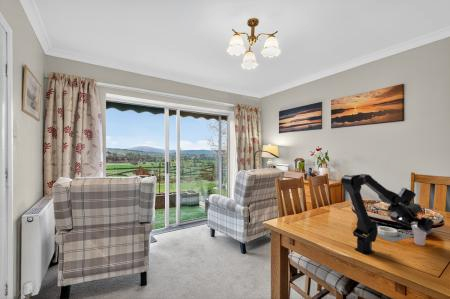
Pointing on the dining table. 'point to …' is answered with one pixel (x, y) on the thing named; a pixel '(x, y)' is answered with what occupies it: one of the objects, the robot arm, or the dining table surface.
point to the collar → (387, 231)
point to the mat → (393, 239)
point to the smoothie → (418, 235)
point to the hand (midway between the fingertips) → (419, 229)
